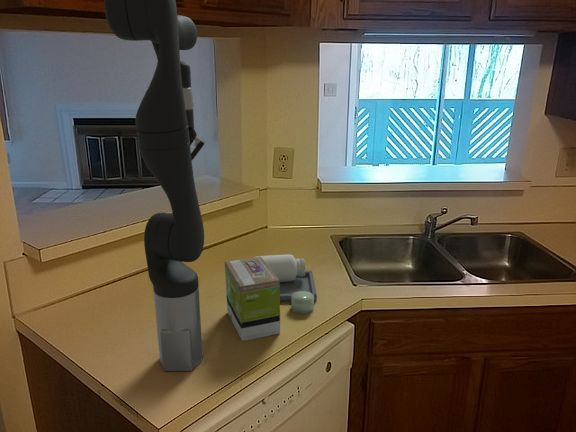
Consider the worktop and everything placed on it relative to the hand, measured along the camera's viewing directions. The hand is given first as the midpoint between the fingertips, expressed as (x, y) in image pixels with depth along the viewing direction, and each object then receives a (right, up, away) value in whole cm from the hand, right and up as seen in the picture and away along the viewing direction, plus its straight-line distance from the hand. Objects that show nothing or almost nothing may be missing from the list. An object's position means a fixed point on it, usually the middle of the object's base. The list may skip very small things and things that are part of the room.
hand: (181, 178), depth 122 cm
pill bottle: (+16, -25, +20) cm, 36 cm away
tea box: (+18, -36, +1) cm, 41 cm away
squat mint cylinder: (+31, -34, +8) cm, 46 cm away
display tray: (+26, -30, +19) cm, 44 cm away
